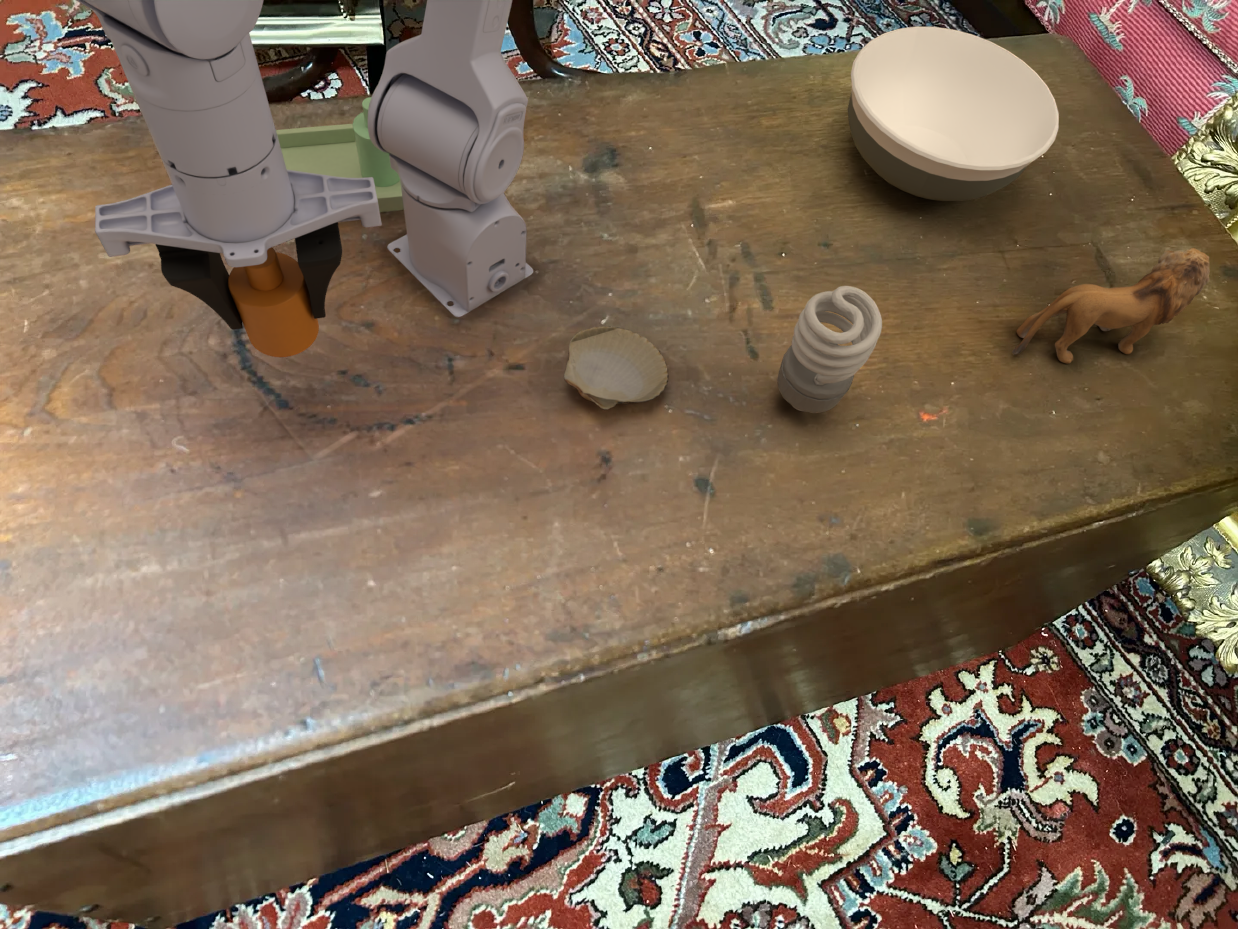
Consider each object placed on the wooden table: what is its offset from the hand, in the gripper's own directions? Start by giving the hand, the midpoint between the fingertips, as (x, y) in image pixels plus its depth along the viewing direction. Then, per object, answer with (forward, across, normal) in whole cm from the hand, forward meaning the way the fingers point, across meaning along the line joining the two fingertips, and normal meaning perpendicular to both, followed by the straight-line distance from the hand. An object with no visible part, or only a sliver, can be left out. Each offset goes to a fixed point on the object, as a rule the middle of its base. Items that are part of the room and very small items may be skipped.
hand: (276, 311), depth 57 cm
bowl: (+11, +58, +16) cm, 61 cm away
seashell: (+11, +22, -2) cm, 25 cm away
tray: (+10, +7, +22) cm, 25 cm away
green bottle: (+10, +8, +22) cm, 26 cm away
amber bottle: (+2, 0, 0) cm, 2 cm away
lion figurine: (+11, +64, -5) cm, 65 cm away
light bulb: (+11, +36, -7) cm, 39 cm away
